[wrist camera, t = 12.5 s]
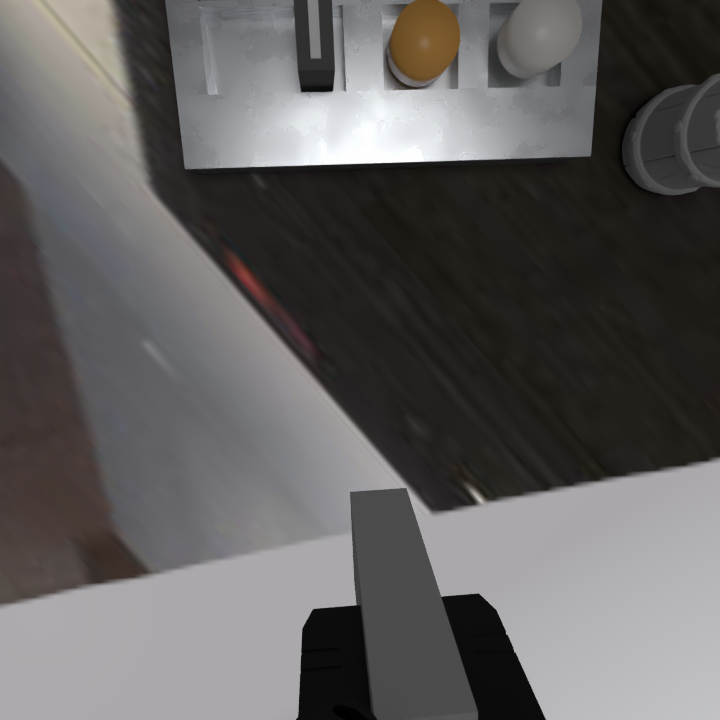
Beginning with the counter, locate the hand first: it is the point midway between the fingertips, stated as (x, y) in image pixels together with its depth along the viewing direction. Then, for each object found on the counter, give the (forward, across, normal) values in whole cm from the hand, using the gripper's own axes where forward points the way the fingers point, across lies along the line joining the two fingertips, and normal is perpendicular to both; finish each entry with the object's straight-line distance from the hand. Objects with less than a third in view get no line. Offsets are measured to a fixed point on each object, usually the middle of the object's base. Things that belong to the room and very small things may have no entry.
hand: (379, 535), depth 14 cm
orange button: (+26, +6, +19) cm, 33 cm away
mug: (+30, +28, +13) cm, 43 cm away
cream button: (+25, +13, +19) cm, 34 cm away
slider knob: (+27, -1, +19) cm, 33 cm away
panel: (+29, +4, +19) cm, 35 cm away
